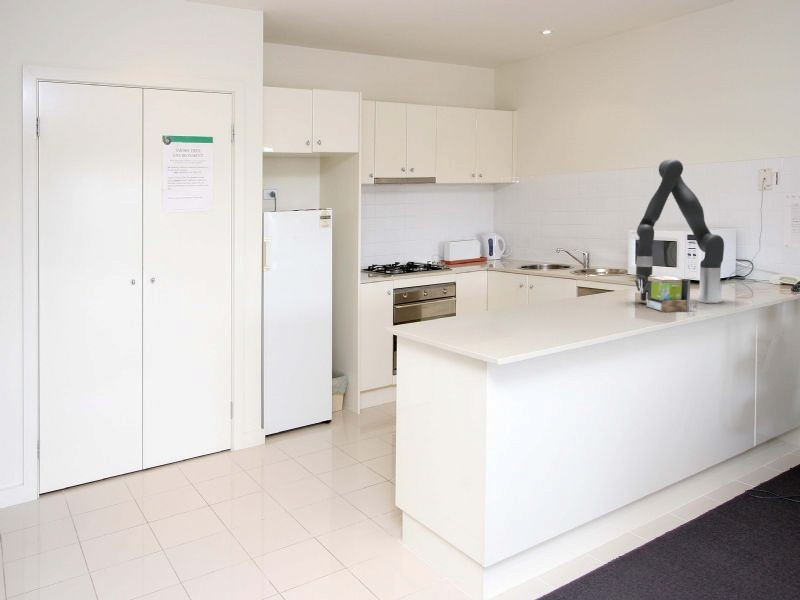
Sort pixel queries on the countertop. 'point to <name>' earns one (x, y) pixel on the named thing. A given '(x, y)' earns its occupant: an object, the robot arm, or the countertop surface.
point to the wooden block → (674, 305)
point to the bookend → (685, 291)
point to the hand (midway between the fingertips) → (643, 300)
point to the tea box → (663, 290)
